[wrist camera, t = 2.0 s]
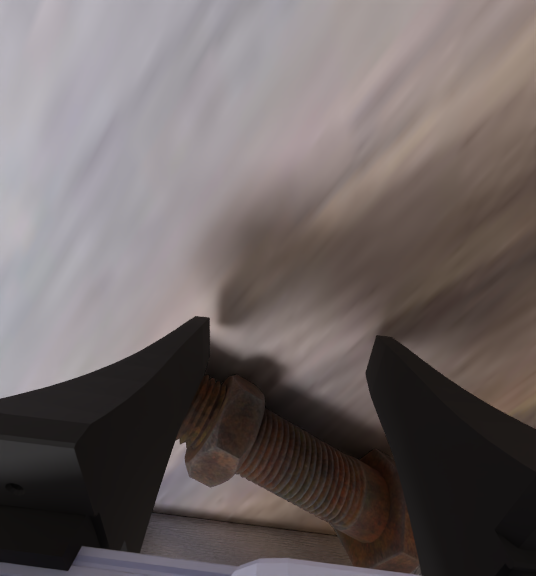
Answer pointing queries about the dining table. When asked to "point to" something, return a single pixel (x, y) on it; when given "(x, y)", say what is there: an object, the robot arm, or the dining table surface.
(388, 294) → the dining table surface
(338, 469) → the bolt
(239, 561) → the keeper
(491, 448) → the robot arm
